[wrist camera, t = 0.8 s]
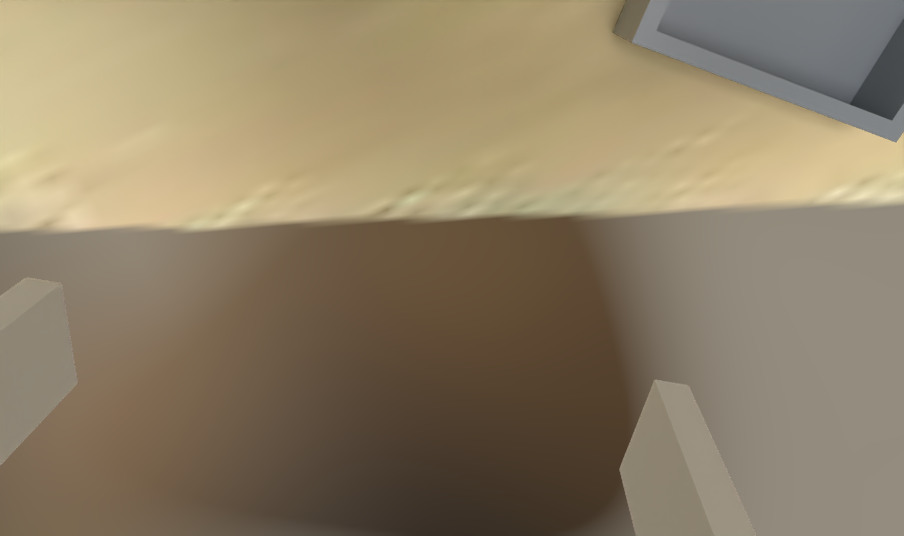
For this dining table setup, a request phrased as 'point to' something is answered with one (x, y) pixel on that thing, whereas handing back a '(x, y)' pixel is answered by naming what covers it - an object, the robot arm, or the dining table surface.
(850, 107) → the bin
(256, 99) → the dining table surface
